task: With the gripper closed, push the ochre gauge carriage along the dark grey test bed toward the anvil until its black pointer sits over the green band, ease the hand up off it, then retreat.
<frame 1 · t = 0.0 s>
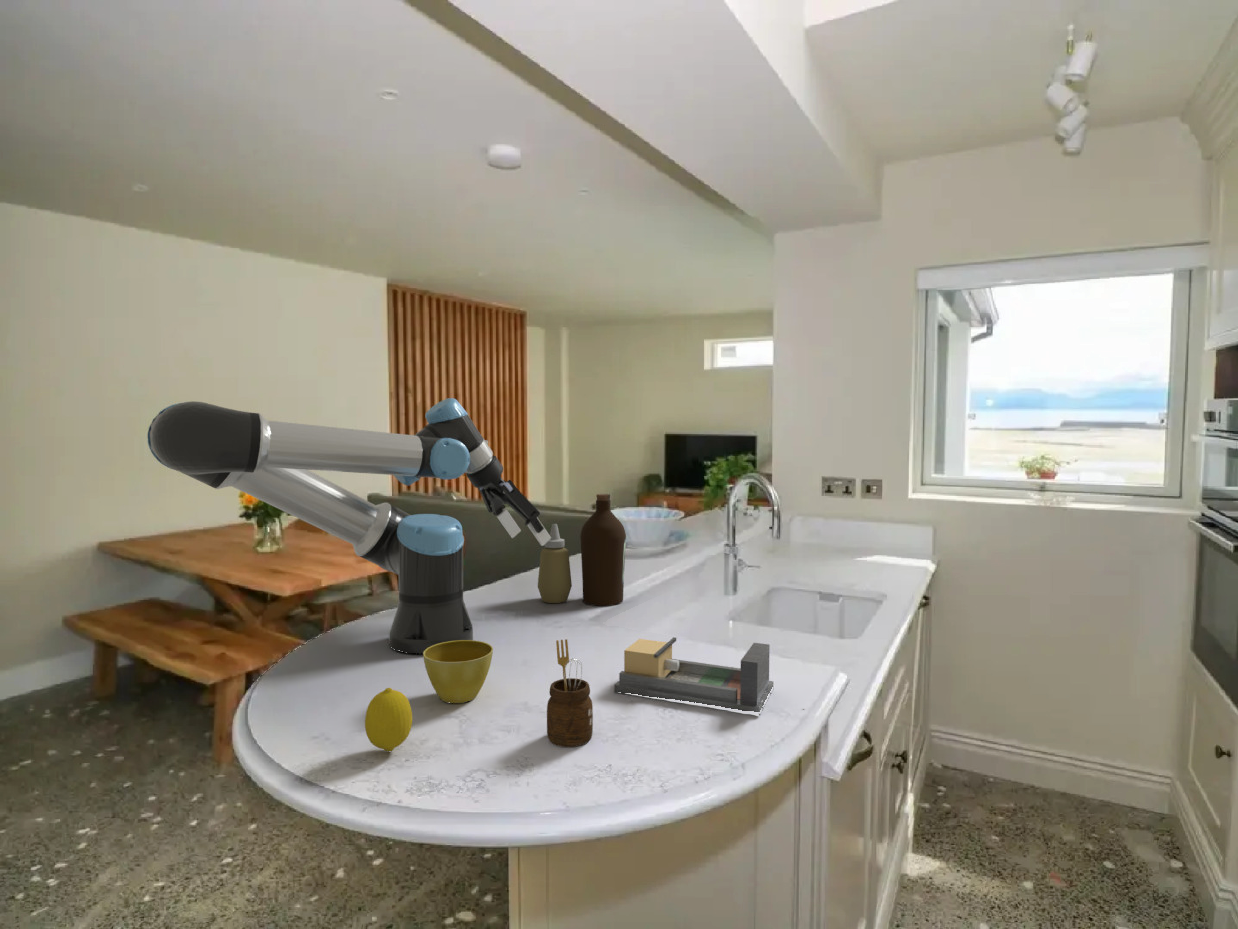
hand: (530, 538, 155), 15 cm above the worktop, tool tilted 35°, fingers open, 13 cm apart
olive oil: (603, 602, 159), on the worktop
gauge carriage: (654, 659, 107), point 4 cm above the worktop, slide at 0.0 cm
test bed: (694, 690, 104), on the worktop
yellow bowl: (458, 699, 102), on the worktop
squeeze bottle: (554, 601, 159), on the worktop
lemon: (389, 753, 84), on the worktop
utensil holder: (569, 739, 88), on the worktop
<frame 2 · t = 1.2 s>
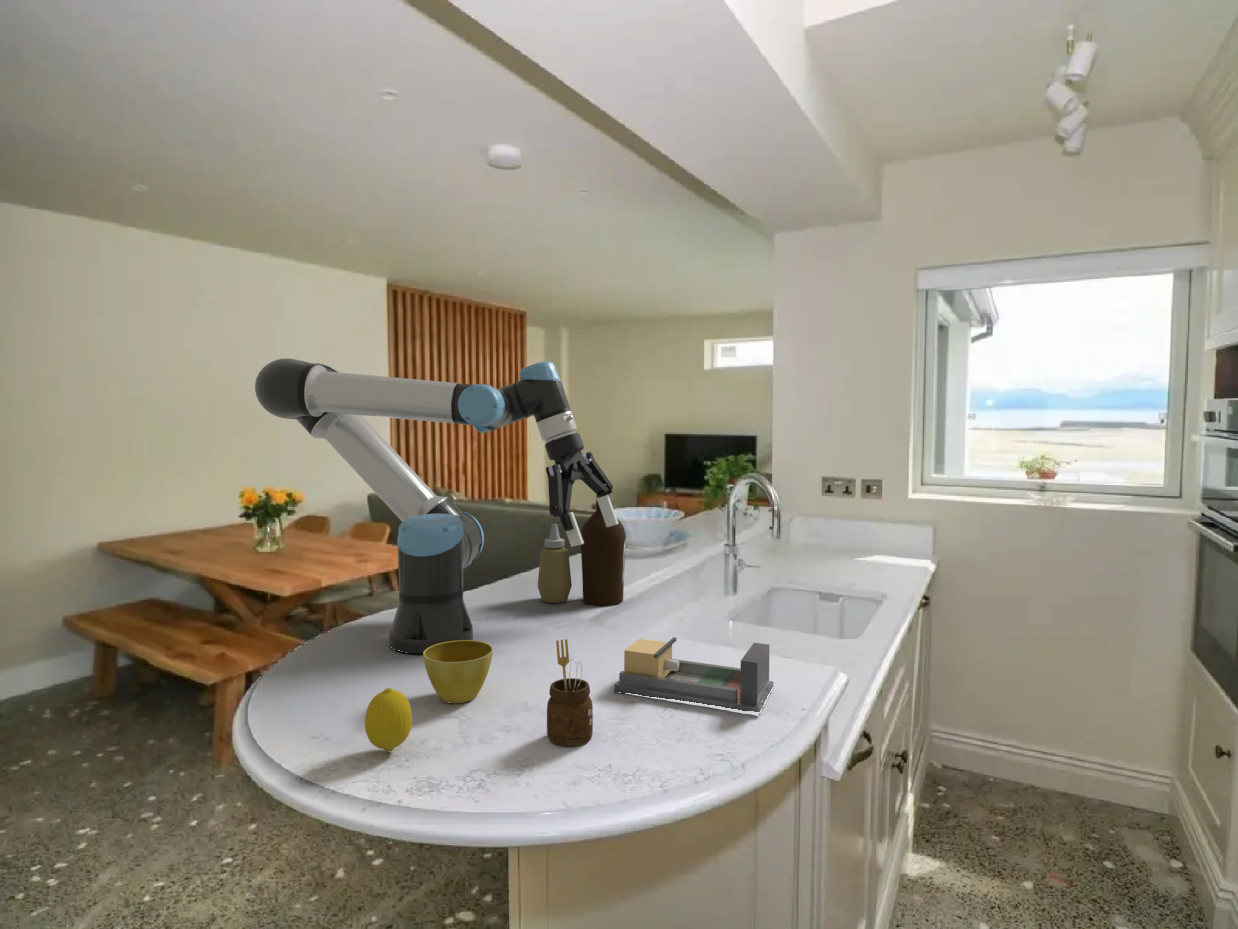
hand: (595, 535, 140), 18 cm above the worktop, tool tilted 20°, fingers open, 13 cm apart
nothing on the worktop moved.
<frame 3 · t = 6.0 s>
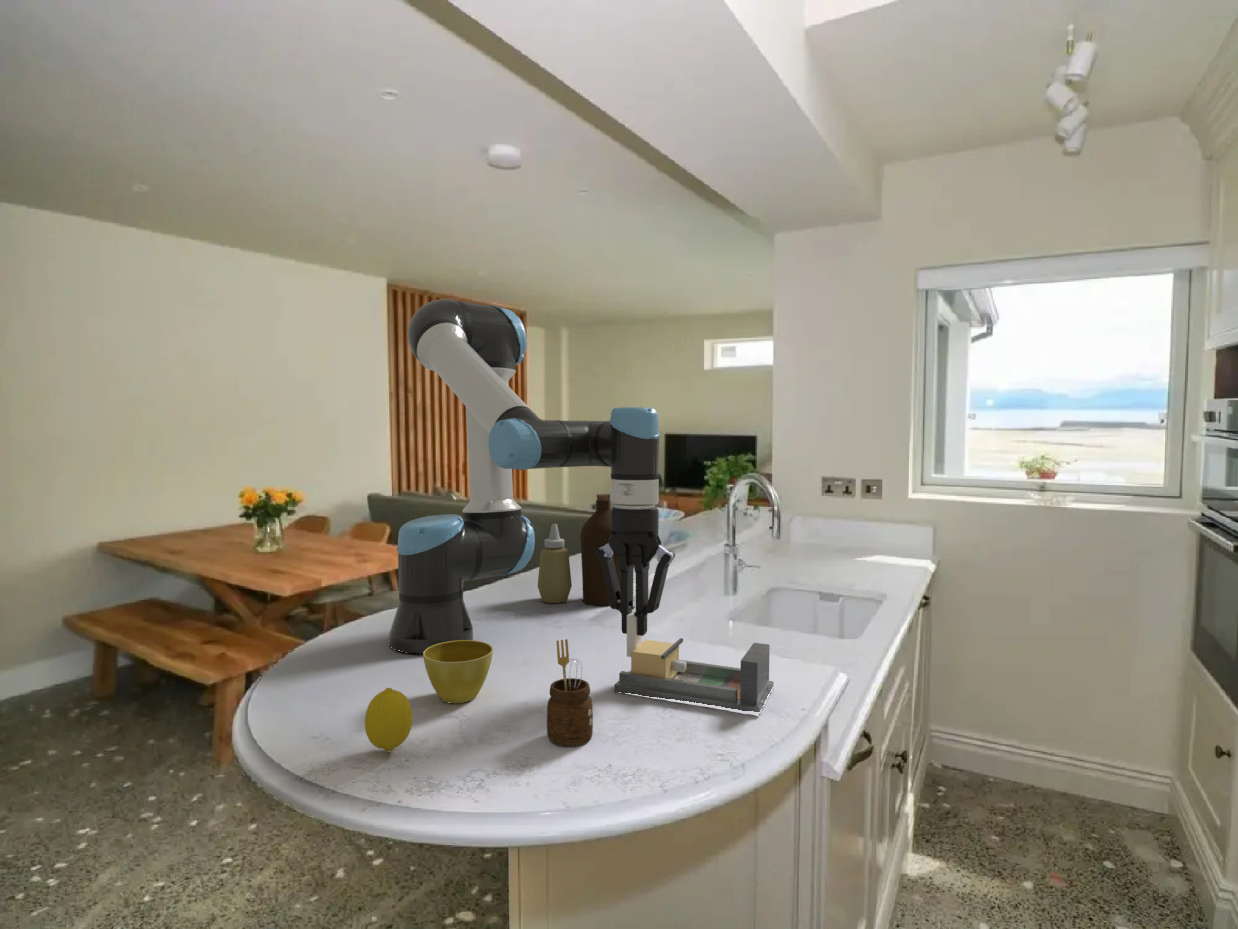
hand: (634, 654, 108), 4 cm above the worktop, tool pointing down, fingers closed
gauge carriage: (661, 660, 106), point 4 cm above the worktop, slide at 1.2 cm, touching gripper
everything else where it was.
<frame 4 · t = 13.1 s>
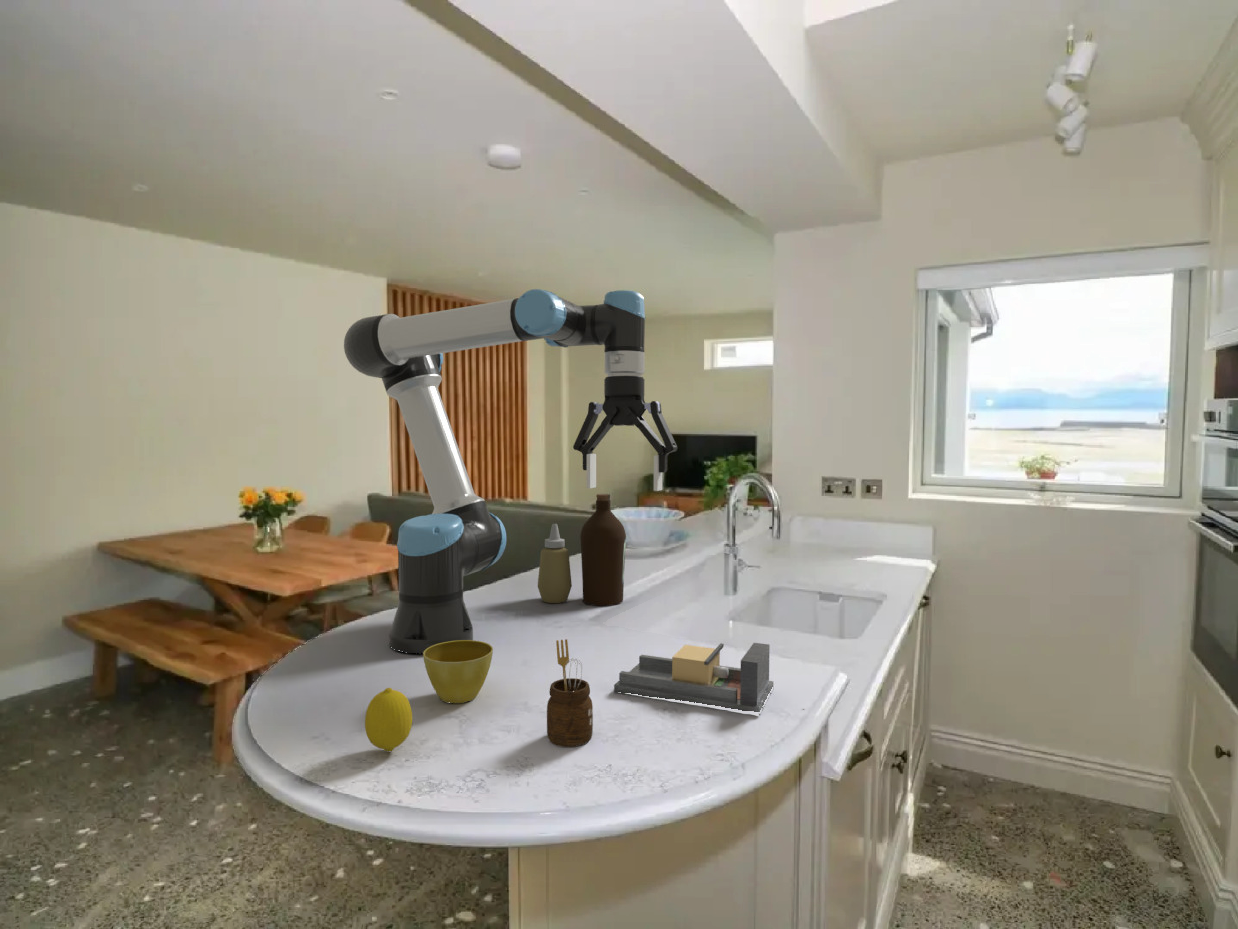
hand: (624, 489, 129), 29 cm above the worktop, tool pointing down, fingers open, 13 cm apart
gauge carriage: (702, 666, 104), point 4 cm above the worktop, slide at 7.8 cm
everything else where it was.
at the end: gauge carriage slide at 7.8 cm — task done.
